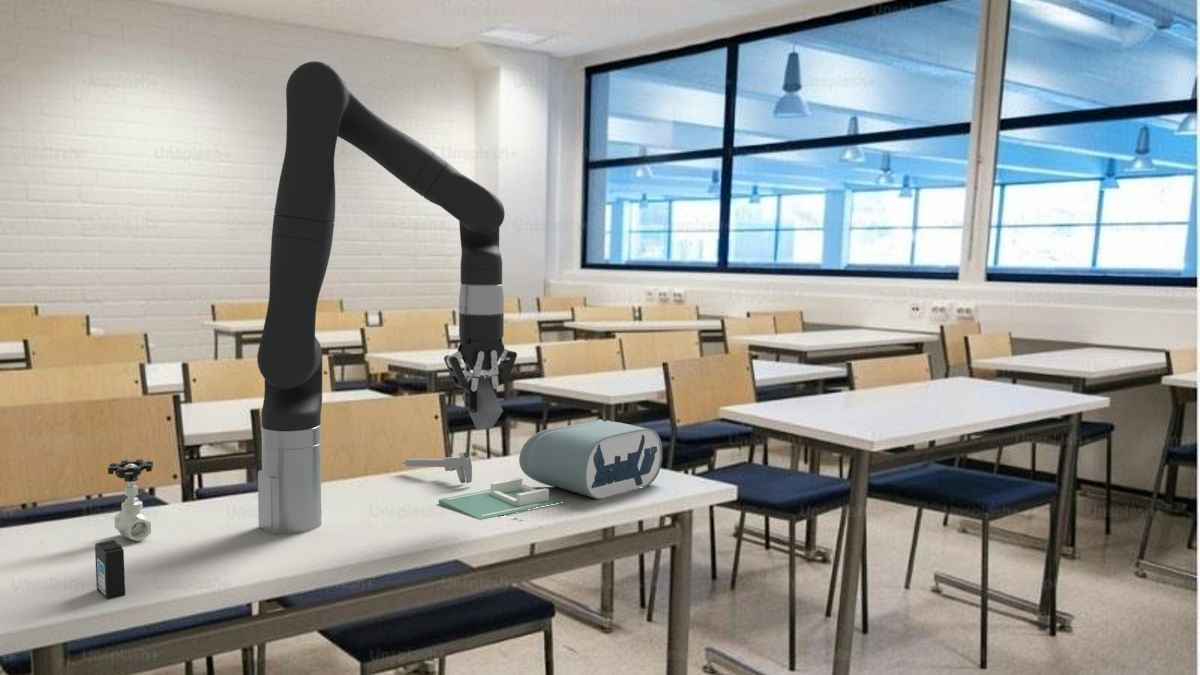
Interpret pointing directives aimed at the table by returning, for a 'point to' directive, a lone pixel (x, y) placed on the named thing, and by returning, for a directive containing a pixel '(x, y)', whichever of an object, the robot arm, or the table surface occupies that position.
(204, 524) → the table surface
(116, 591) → the ink cartridge
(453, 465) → the caliper
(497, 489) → the board
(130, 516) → the valve
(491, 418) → the switch
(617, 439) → the pencil case
